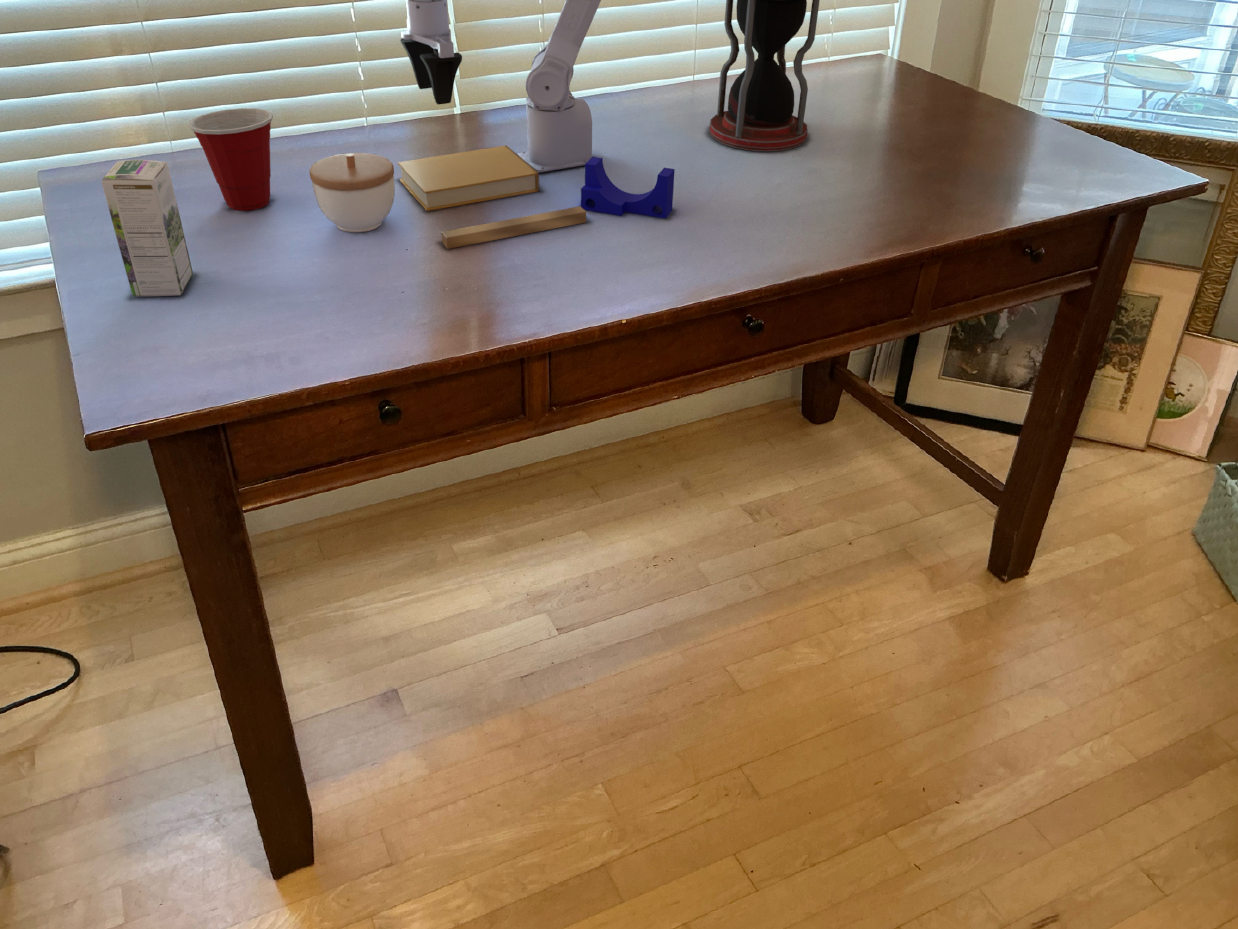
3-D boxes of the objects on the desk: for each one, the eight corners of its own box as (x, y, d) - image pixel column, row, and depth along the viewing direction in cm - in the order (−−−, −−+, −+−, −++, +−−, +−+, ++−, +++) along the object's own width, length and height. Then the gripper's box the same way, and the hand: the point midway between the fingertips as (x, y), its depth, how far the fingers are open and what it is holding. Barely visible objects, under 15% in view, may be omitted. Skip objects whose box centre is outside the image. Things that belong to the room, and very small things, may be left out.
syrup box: (146, 275, 125) (113, 159, 116) (195, 274, 125) (167, 158, 117) (132, 297, 120) (97, 178, 112) (184, 296, 121) (153, 177, 112)
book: (507, 163, 157) (506, 145, 155) (539, 191, 148) (538, 172, 147) (399, 180, 150) (397, 161, 149) (426, 211, 142) (424, 191, 140)
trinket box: (381, 243, 133) (372, 174, 128) (304, 234, 135) (292, 165, 129) (411, 211, 142) (404, 144, 136) (338, 203, 143) (328, 136, 138)
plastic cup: (263, 181, 149) (247, 97, 142) (303, 203, 143) (288, 117, 136) (192, 200, 143) (172, 114, 136) (230, 225, 137) (211, 136, 129)
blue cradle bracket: (580, 209, 144) (581, 167, 140) (592, 197, 147) (592, 156, 144) (662, 222, 141) (664, 180, 137) (672, 210, 144) (674, 168, 141)
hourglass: (822, 130, 172) (846, -32, 156) (780, 159, 161) (801, -13, 145) (736, 111, 178) (751, -46, 163) (691, 138, 167) (702, -29, 152)
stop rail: (580, 216, 142) (580, 205, 141) (586, 222, 140) (586, 211, 139) (442, 242, 134) (441, 231, 133) (447, 249, 133) (446, 237, 132)
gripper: (383, -12, 148) (393, 84, 156) (415, 12, 138) (424, 113, 146) (429, -16, 150) (437, 78, 159) (465, 7, 140) (471, 107, 148)
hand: (434, 95), depth 152 cm, fingers open, 7 cm apart
